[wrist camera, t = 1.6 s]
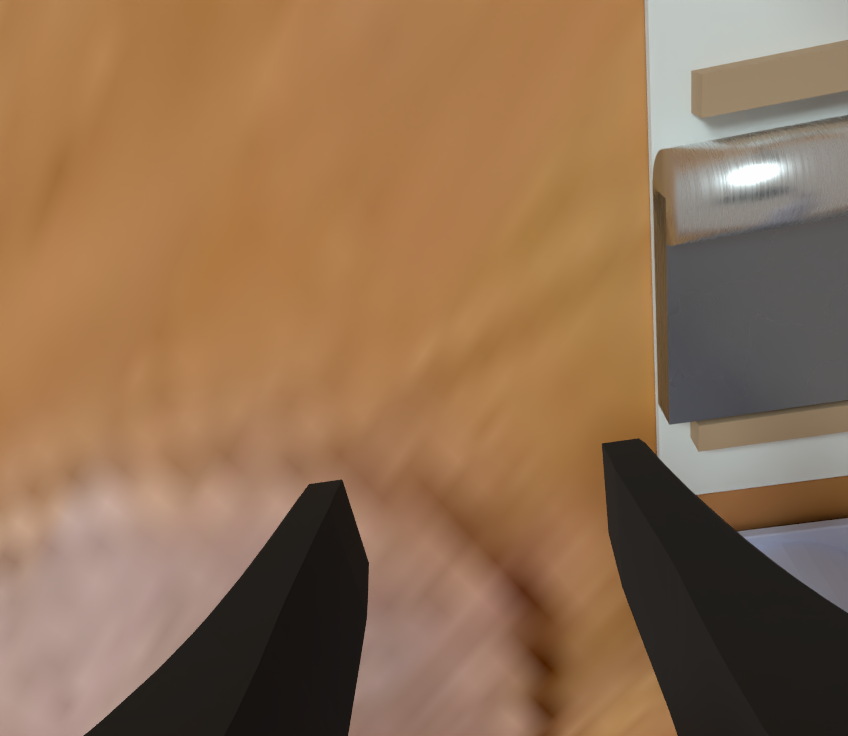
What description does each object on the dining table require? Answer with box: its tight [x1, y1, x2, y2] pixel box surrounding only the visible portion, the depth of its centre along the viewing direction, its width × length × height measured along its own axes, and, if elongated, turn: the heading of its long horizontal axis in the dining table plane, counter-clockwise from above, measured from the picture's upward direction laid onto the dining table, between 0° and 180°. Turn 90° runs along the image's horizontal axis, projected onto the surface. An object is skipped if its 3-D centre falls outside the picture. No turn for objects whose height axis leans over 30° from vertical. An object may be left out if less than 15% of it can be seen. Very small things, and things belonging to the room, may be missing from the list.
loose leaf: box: [653, 115, 848, 425], centre depth 18 cm, size 8×7×2 cm
